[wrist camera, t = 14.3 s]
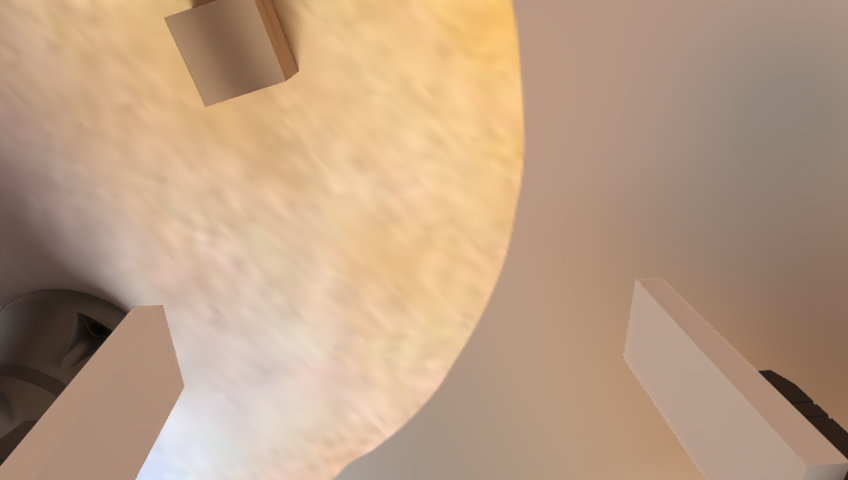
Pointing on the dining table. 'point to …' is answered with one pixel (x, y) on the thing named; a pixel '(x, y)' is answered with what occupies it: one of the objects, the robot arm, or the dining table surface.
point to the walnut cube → (232, 47)
